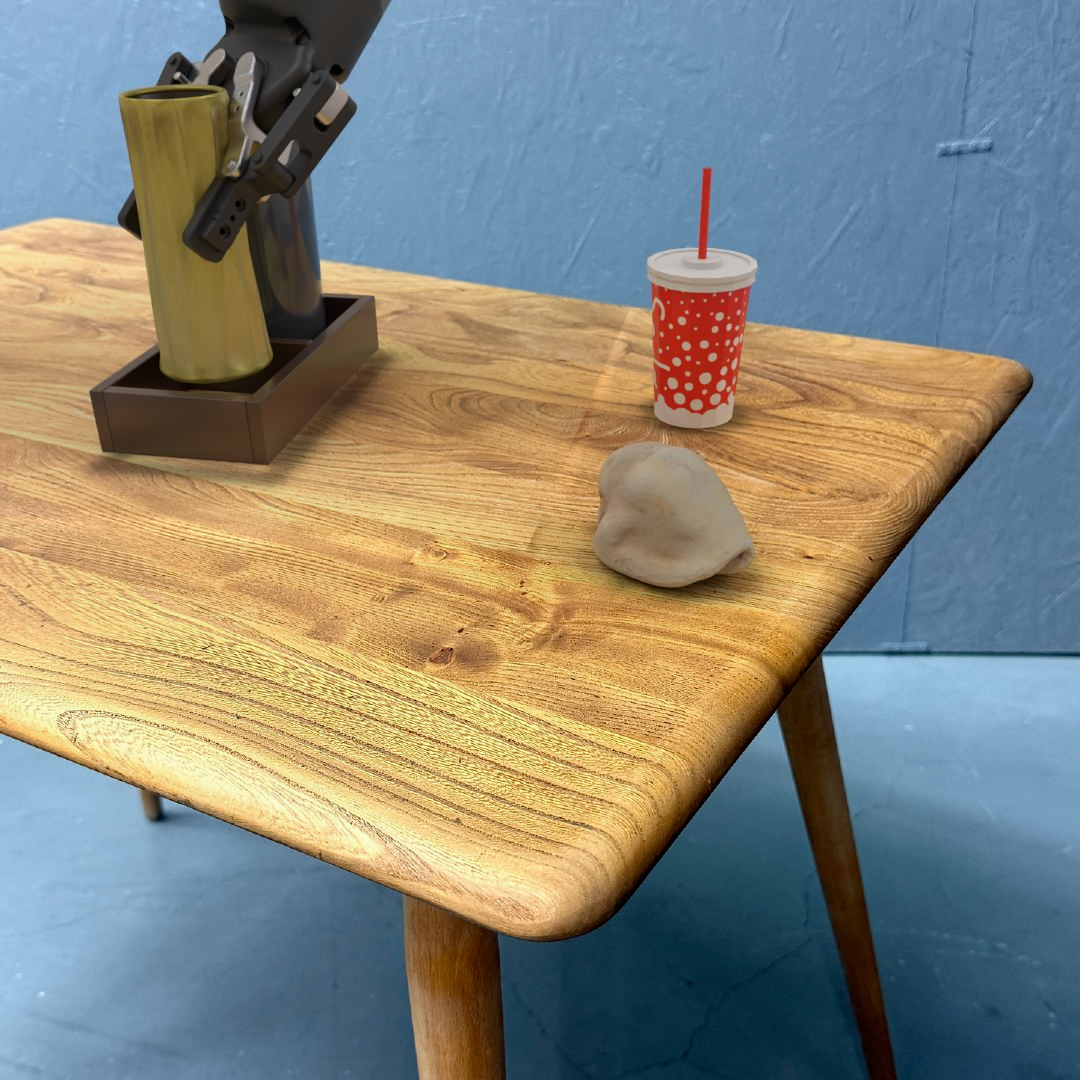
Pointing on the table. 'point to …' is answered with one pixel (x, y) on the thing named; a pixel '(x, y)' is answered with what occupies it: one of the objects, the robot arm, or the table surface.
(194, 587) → the table surface
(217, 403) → the rack
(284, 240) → the dark grey cylinder
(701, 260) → the beverage cup
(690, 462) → the stone
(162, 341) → the vase
